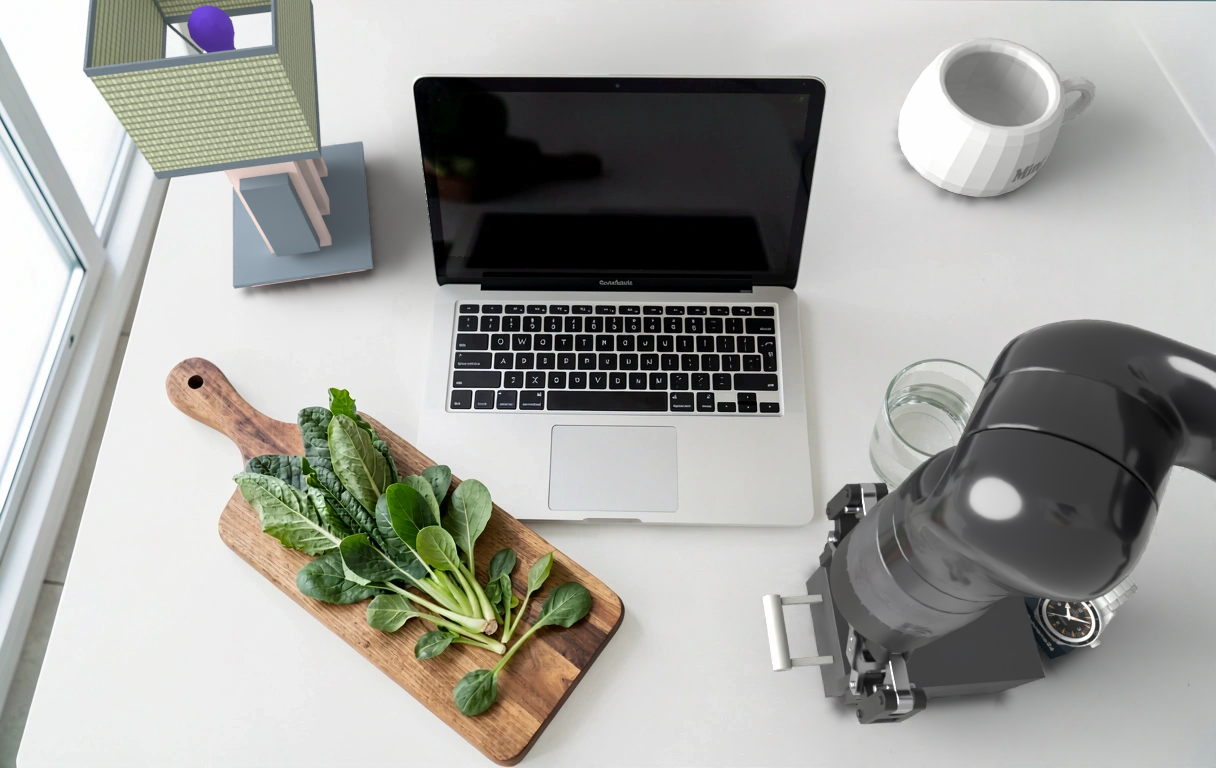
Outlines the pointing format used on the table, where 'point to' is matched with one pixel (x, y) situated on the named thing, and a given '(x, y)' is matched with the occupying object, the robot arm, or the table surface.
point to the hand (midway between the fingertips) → (842, 621)
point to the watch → (1074, 619)
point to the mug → (986, 116)
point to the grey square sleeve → (978, 655)
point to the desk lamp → (238, 128)
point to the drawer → (827, 631)
